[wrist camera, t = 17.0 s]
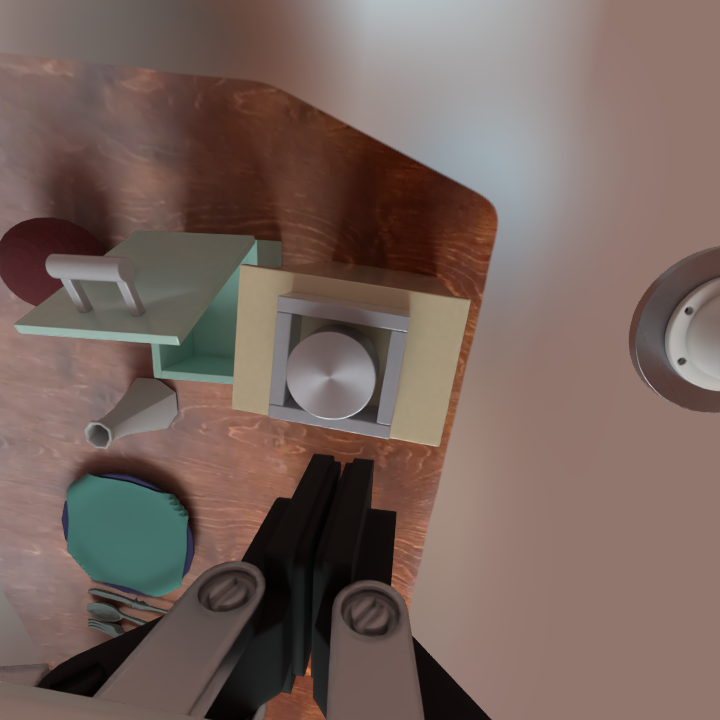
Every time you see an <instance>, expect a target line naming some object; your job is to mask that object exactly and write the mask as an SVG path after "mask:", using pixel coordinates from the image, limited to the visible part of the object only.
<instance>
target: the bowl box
mask: <svg viewBox="0 0 720 720" xmlns="http://www.w3.org/2000/svg"><path fill="white" fill-rule="evenodd" d="M241 264H251V265H258V266H264V267H271V268H274V267H282V241H271V240H257V239H255V244H254V246H253V247H252V248H251V250H250V251H249V253H248V254H247V255H246V257H245V258H244V259H243V261H242V262H241V263H240V265H241ZM240 265H239V266H238V267H237V269H236V270H235V272H234V273H233V274H232V276H231V277H230V278H229V280H228V281H227V282H226V284H225V285H224V286H223V288H222V289H221V291H220V292H219V293H218V295H217V296H216V297H215V299H214V300H213V301H212V303H211V304H210V305H209V307H208V308H207V310H206V311H205V312H204V314H203V315H202V316H201V318H200V319H199V320H198V322H197V323H196V324H195V326H194V327H193V329H192V330H191V331H190V333H189V334H188V335H187V337H186V338H185V339H184V341H183V342H182V343H181V345H167V344H154V343H151V348H152V359H153V370H154V377H155V378H165V379H177V380H188V381H200V382H212V383H224V384H233V376H234V359H235V342H236V325H237V308H238V292H239V275H240Z"/></svg>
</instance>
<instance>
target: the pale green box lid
mask: <svg viewBox="0 0 720 720" xmlns="http://www.w3.org/2000/svg"><path fill="white" fill-rule="evenodd" d="M254 244H255V238H254V236H252V235H230V234H207V233H185V232H162V231H139V230H136V231H135V232H134V233H132V234H131V235H130V236H128V237H127V238H126V239H125V240H123V241H122V242H121V243H119V244H118V245H117V246H115V247H114V248H113V249H112V250H110V251H109V252H108V253H106V254H105V255H104V256H91V255H72V254H51V255H49V256H48V257H47V259H46V270H47V272H48V273H49V275H50V276H52V277H53V278H57V279H61V281H62V283H63V285H64V286H63V287H62V288H61V289H59V290H58V291H57V292H55V293H54V294H53V295H51V296H50V297H49V298H47V299H46V300H45V301H44V302H42V303H41V304H40V305H38V306H37V307H36V308H34V309H33V310H32V311H30V312H29V313H28V314H27V315H25V316H24V317H23V318H21V319H20V320H19V321H17V322H16V323H15V324H14V326H15V327H16V329H17V330H18V332H19V333H21V334H34V335H48V336H61V337H74V338H88V339H101V340H114V341H127V342H141V343H154V344H167V345H181V343H182V342H183V341H184V339H185V338H186V337H187V335H188V334H189V333H190V331H191V330H192V329H193V327H194V326H195V324H196V323H197V322H198V320H199V319H200V318H201V316H202V315H203V314H204V312H205V311H206V310H207V308H208V307H209V305H210V304H211V303H212V301H213V300H214V299H215V297H216V296H217V295H218V293H219V292H220V291H221V289H222V288H223V286H224V285H225V284H226V282H227V281H228V280H229V278H230V277H231V276H232V274H233V273H234V272H235V270H236V269H237V267H238V266H239V265H240V263H241V262H242V261H243V259H244V258H245V257H246V255H247V254H248V253H249V251H250V250H251V248H252V247H253V246H254Z"/></svg>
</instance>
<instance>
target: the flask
mask: <svg viewBox="0 0 720 720" xmlns="http://www.w3.org/2000/svg"><path fill="white" fill-rule="evenodd" d="M177 414H178V411H177V401H176V393H175V392H174V391H173V390H171V389H170V388H169V387H168V386H166V385H165V384H164V383H162V382H161V381H160V380H158V379H151V378H136V379H135V381H134V382H133V383H132V385H131V386H130V388H129V389H128V391H127V392H126V394H125V395H124V396H123V397H122V399H121V400H120V401H119V403H118V404H117V405H116V407H115V408H114V409H113V410H112V411H111V412H109V413H108V414H107V415H106V416H105V417H103V418H102V419H100V420H98V421H90V422H89V423H88V425H87V427H86V428H85V430H84V431H85V437H86V441H87V442H89V443H90V444H91V445H93V446H94V447H95V448H105V449H106V448H108V447H109V446H110V444H111V443H112V441H114V440H116V439H117V438H120V437H122V436H125V435H128V434H132V433H138V432H144V431H152V430H161V429H167V428H168V426H169V425H170V424H171V422H172V421H173V419H174V418H175V417H176V415H177Z"/></svg>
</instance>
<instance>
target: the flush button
mask: <svg viewBox="0 0 720 720" xmlns="http://www.w3.org/2000/svg"><path fill="white" fill-rule="evenodd" d="M378 374H379V358H378V354H377V351H376V349H375V347H374V345H373V344H372V342H371V341H370V340H369V339H368V337H366V336H365V335H364V334H363V333H362V332H360V331H359V330H357V329H355V328H353V327H350V326H347V325H341V324H332V325H326V326H323V327H320V328H318V329H316V330H315V331H313V332H312V333H311V334H309V335H308V336H307V337H306V338H304V339H303V340H302V341H301V342H300V343H299V344H297V346H296V347H295V348H294V349H293V351H292V352H291V354H290V356H289V358H288V362H287V366H286V381H287V385H288V388H289V391H290V393H291V395H292V397H293V398H294V400H295V401H296V402H297V403H298V404H299V405H300V406H301V407H302V408H303V409H304V410H305V411H307V412H308V413H310V414H312V415H314V416H317V417H319V418H324V419H330V420H336V419H343V418H347V417H350V416H352V415H354V414H356V413H358V412H359V411H360V410H362V409H363V408H364V407H365V406H366V405H367V403H368V402H369V401H370V399H371V397H372V395H373V392H374V389H375V386H376V382H377V378H378Z"/></svg>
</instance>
